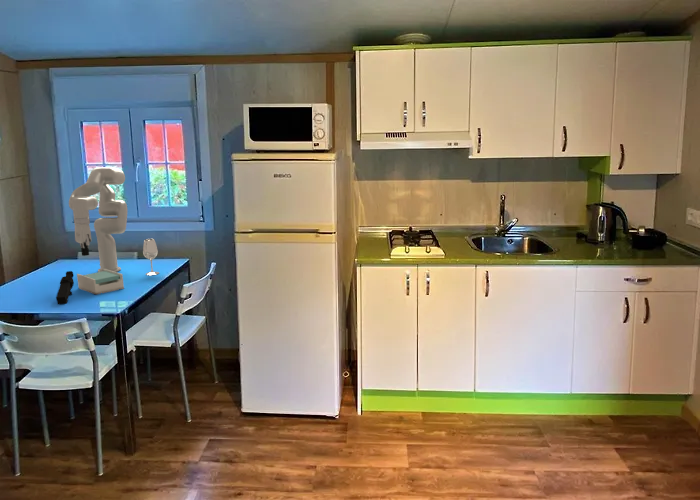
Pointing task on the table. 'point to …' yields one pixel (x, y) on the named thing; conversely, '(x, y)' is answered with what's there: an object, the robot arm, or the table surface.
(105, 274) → the lid
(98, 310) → the table surface
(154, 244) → the wineglass
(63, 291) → the toy gun
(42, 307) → the table surface
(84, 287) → the box
